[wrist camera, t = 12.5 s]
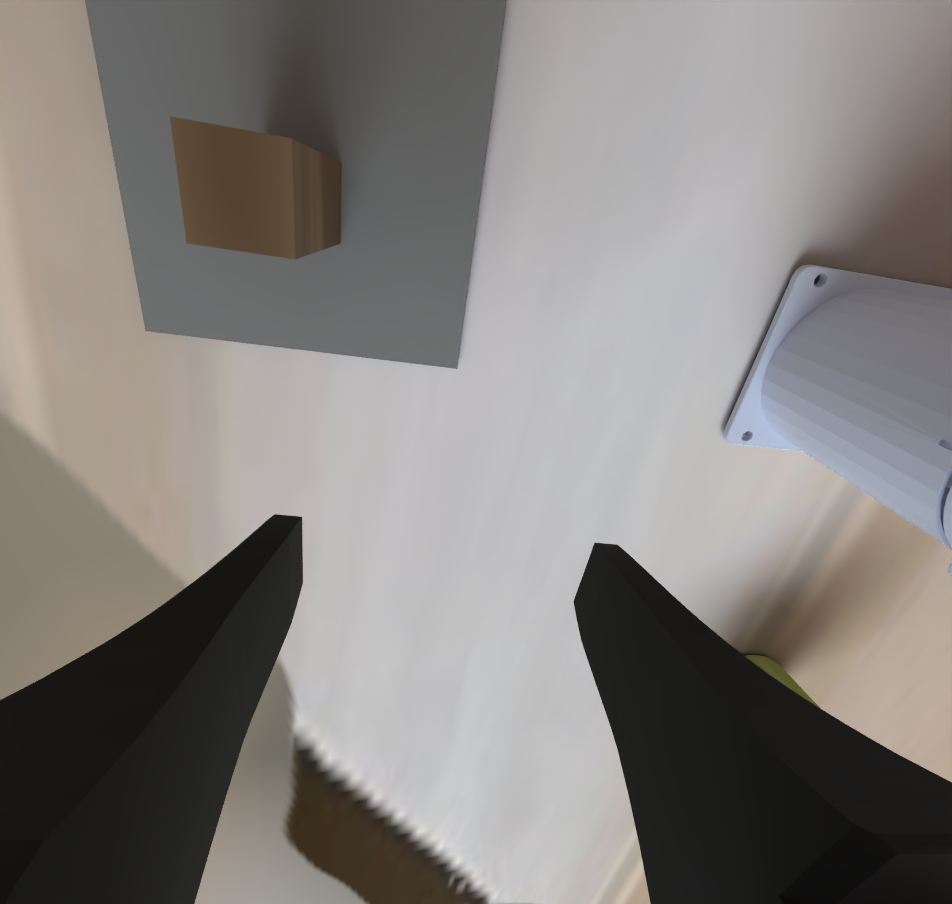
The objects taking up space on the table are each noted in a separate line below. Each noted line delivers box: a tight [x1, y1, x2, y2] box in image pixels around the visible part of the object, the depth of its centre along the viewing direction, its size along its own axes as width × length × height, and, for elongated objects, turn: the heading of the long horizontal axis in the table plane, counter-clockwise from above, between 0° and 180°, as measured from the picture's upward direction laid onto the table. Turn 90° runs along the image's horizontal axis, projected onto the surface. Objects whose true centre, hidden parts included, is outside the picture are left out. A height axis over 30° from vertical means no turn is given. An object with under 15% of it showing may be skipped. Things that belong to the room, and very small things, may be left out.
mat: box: [85, 0, 506, 369], centre depth 16 cm, size 12×12×1 cm
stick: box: [170, 116, 342, 259], centre depth 13 cm, size 2×2×6 cm
